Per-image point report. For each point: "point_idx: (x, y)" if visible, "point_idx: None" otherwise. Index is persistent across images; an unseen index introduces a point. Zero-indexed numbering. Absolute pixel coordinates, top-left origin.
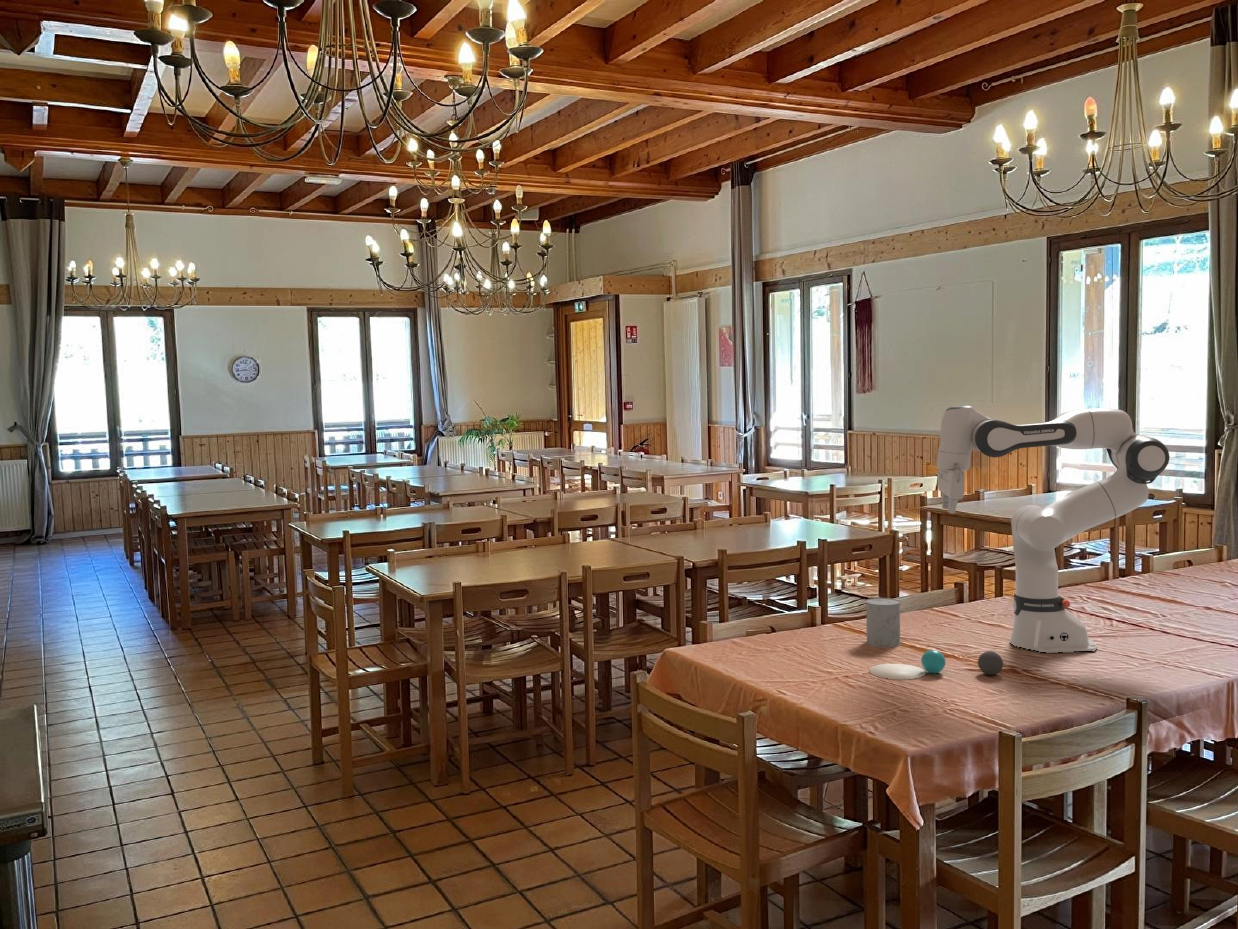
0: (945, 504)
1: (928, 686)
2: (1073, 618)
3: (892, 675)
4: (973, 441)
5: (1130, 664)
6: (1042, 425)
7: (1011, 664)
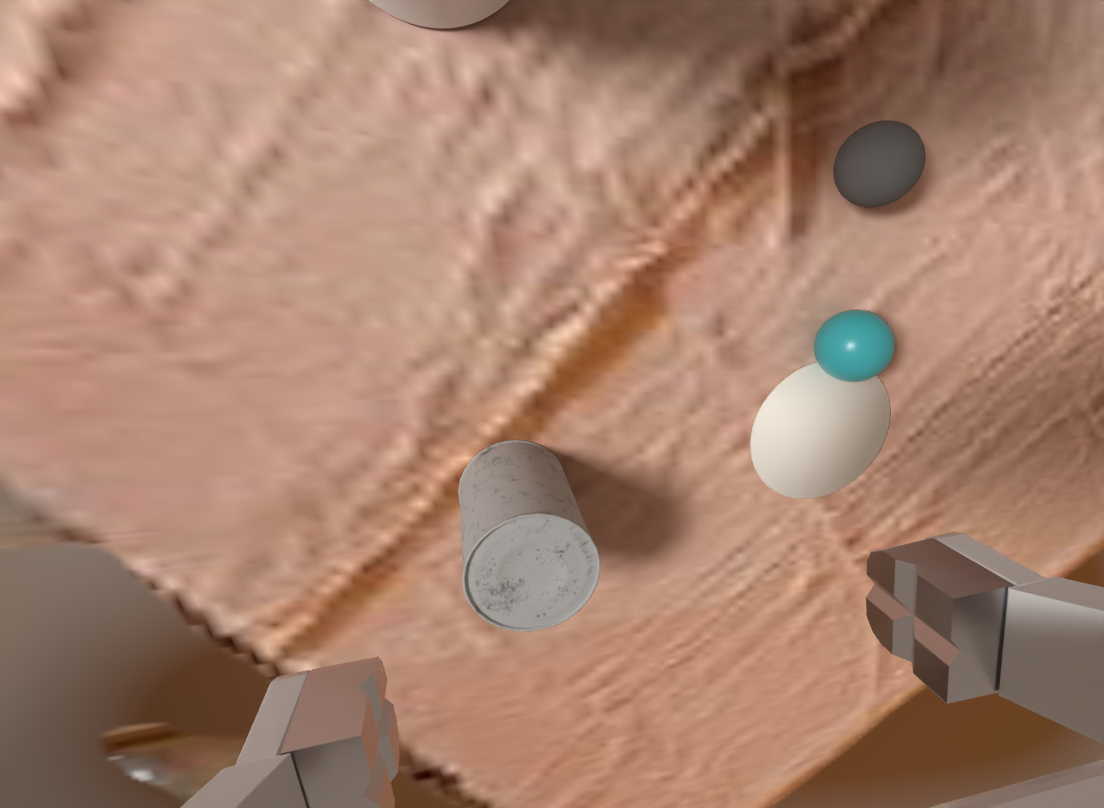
0: (380, 776)
1: (944, 350)
2: None
3: (859, 441)
4: None
5: None
6: None
7: (736, 72)
